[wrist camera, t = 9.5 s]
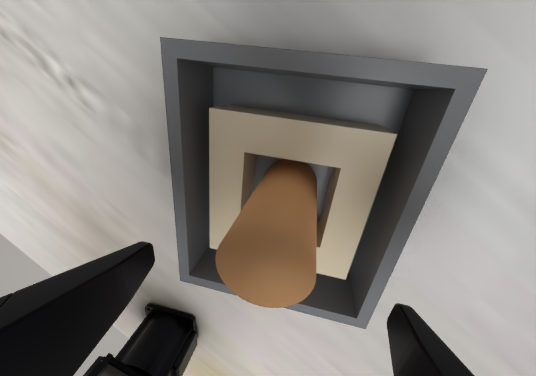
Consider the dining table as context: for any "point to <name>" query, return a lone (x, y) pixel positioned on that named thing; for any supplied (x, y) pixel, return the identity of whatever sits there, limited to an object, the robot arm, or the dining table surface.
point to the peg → (274, 239)
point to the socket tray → (319, 93)
